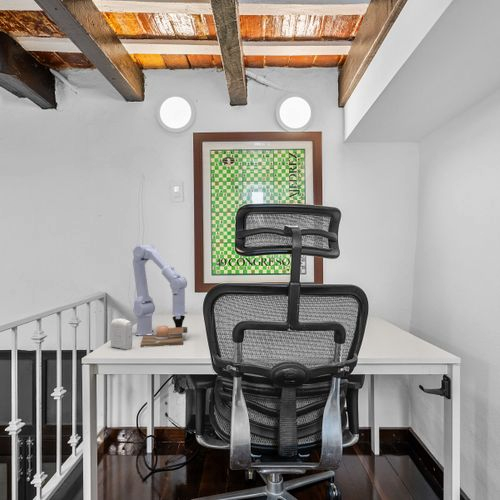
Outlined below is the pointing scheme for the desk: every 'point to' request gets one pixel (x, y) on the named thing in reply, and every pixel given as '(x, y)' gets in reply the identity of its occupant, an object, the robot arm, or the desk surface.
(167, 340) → the walnut base
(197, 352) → the desk surface
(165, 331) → the wooden tool handle
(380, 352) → the desk surface
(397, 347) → the desk surface
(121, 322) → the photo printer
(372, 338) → the desk surface
